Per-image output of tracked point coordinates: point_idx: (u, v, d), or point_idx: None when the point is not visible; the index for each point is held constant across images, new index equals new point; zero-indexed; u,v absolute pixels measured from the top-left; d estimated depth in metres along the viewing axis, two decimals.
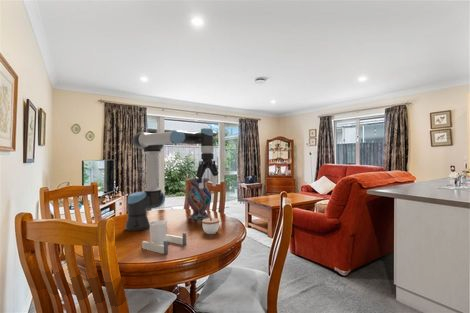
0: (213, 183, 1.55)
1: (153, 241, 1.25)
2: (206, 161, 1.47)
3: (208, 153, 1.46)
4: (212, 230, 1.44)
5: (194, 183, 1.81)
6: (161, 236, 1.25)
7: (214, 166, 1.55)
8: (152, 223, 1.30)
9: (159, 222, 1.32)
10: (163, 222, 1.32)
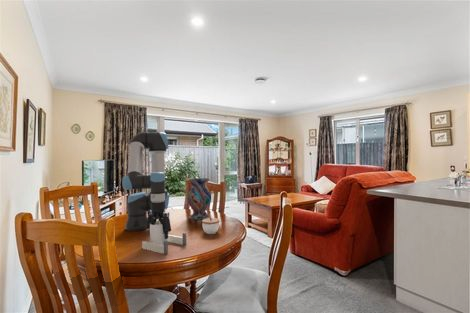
0: None
1: (153, 241, 1.25)
2: (153, 210, 1.29)
3: (151, 202, 1.27)
4: (212, 230, 1.44)
5: (194, 183, 1.81)
6: (161, 236, 1.25)
7: None
8: None
9: (159, 222, 1.32)
10: None
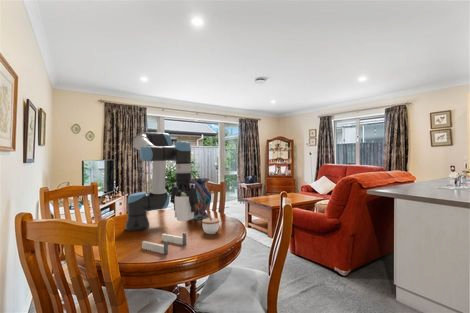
0: None
1: (179, 214, 1.16)
2: (178, 182, 1.20)
3: (176, 173, 1.19)
4: (212, 230, 1.44)
5: (194, 183, 1.81)
6: (187, 209, 1.16)
7: None
8: None
9: (183, 196, 1.24)
10: None
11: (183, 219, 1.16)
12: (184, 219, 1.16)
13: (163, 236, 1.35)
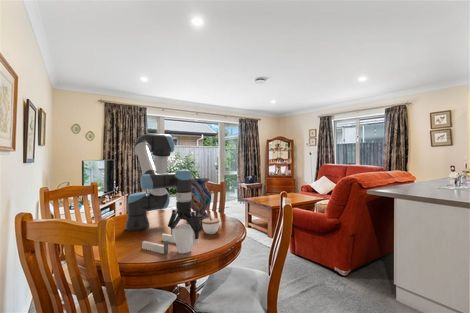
0: None
1: (179, 247, 1.16)
2: (178, 211, 1.20)
3: None
4: (212, 230, 1.44)
5: (194, 183, 1.81)
6: (187, 241, 1.16)
7: None
8: (177, 227, 1.21)
9: (183, 226, 1.24)
10: (188, 226, 1.24)
11: (183, 251, 1.16)
12: (184, 251, 1.16)
13: (163, 236, 1.35)
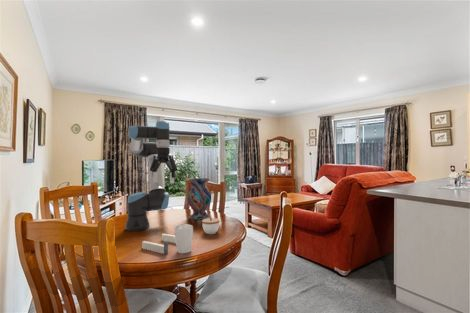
0: None
1: (179, 247, 1.16)
2: (158, 156, 1.43)
3: (157, 147, 1.42)
4: (212, 230, 1.44)
5: (194, 183, 1.81)
6: (187, 241, 1.16)
7: None
8: (177, 227, 1.21)
9: (183, 226, 1.24)
10: (188, 226, 1.24)
11: (183, 251, 1.16)
12: (184, 251, 1.16)
13: (163, 236, 1.35)
